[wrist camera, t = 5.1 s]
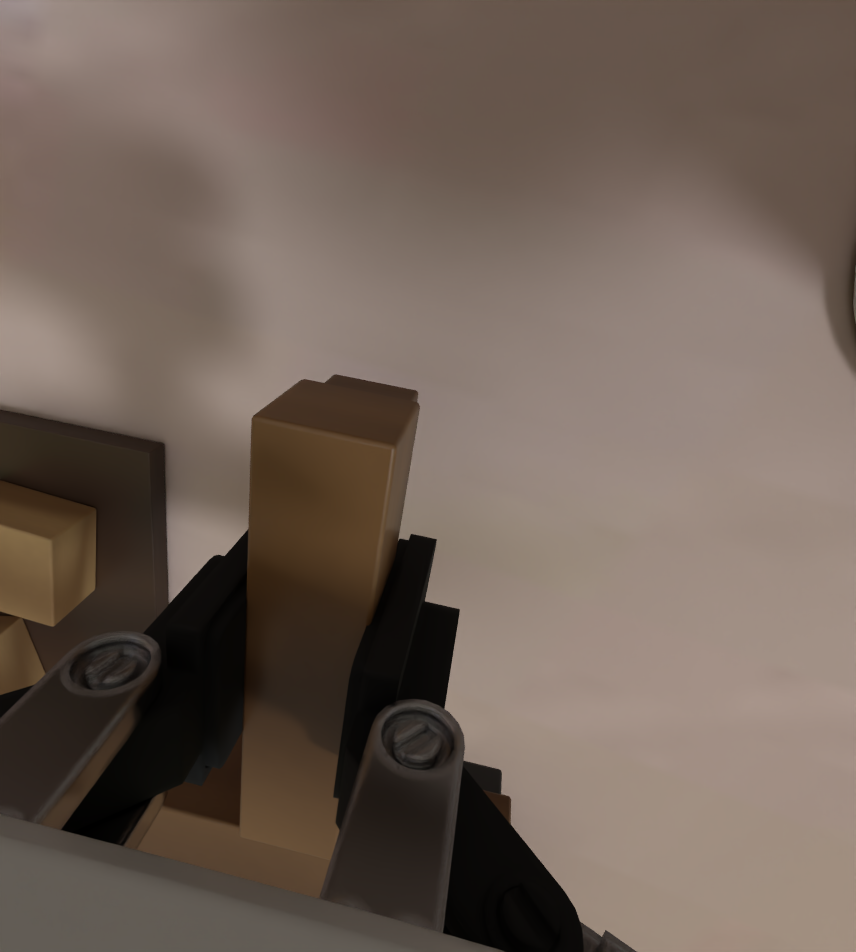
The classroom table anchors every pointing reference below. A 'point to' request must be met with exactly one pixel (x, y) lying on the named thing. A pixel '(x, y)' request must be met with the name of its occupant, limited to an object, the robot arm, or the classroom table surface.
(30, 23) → the classroom table surface
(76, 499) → the tray
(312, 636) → the brush
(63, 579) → the cork chip
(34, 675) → the cork chip
